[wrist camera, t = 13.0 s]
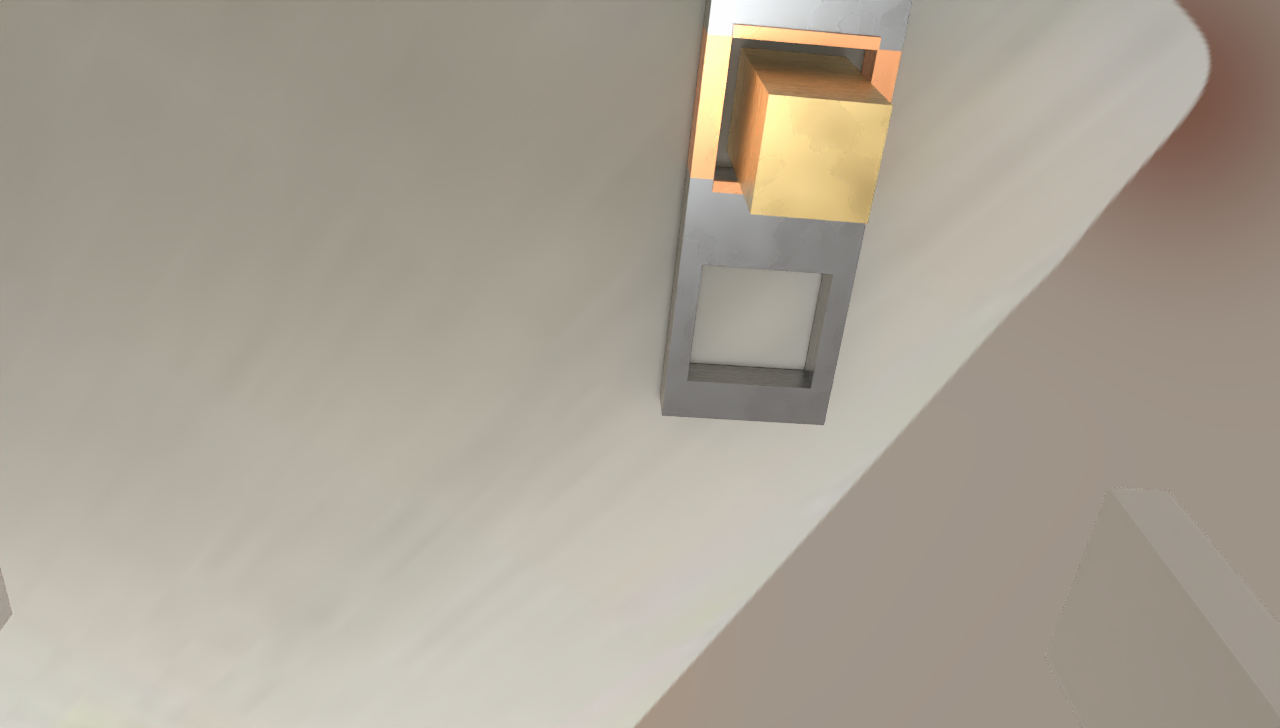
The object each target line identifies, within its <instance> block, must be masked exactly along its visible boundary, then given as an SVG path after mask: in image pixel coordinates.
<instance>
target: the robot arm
mask: <svg viewBox="0 0 1280 728" xmlns="http://www.w3.org/2000/svg"><path fill="white" fill-rule="evenodd" d="M11 615H12V611H11V607H10V603H9V599H8V595H7V592H6V588H5V584H4V580H3V576H2V572H1V568H0V630H1V629H2V627H3V626H4V625H5V623H6V622H7V620H8V619H9V618H10V616H11ZM1045 659H1046V661H1047V663H1048V665H1049V667H1050V669H1051V671H1052V673H1053V675H1054V677H1055V679H1056V680H1057V682H1058V684H1059V686H1060V688H1061V690H1062V692H1063V694H1064V696H1065V698H1066V700H1067V701H1068V703H1069V705H1070V707H1071V709H1072V711H1073V713H1074V715H1075V717H1076V719H1077V721H1078V723H1079V724H1080V726H1081V728H1280V623H1279V622H1278V621H1277V620H1276V618H1275V617H1274V616H1273V615H1272V613H1271V612H1270V611H1269V610H1268V609H1267V607H1266V606H1265V605H1264V604H1263V603H1262V601H1261V600H1260V599H1259V598H1258V596H1257V595H1256V594H1255V593H1254V592H1253V590H1252V589H1251V588H1250V587H1249V586H1248V584H1247V583H1246V582H1245V581H1244V580H1243V578H1242V577H1241V576H1240V575H1239V574H1238V572H1237V571H1236V570H1235V569H1234V568H1233V566H1232V565H1231V564H1230V563H1229V562H1228V560H1227V559H1226V558H1225V557H1224V556H1223V554H1222V553H1221V552H1220V551H1219V550H1218V548H1217V547H1216V546H1215V545H1214V543H1213V542H1212V541H1211V540H1210V539H1209V537H1208V536H1207V535H1206V534H1205V533H1204V531H1203V530H1202V529H1201V528H1200V527H1199V525H1198V524H1197V523H1196V522H1195V521H1194V520H1193V518H1192V517H1191V516H1190V515H1189V514H1188V512H1187V511H1186V510H1185V509H1184V507H1183V506H1182V505H1181V504H1180V503H1179V501H1178V500H1177V499H1176V498H1175V497H1174V496H1173V494H1172V493H1171V492H1170V490H1151V489H1133V488H1116V487H1108V489H1107V492H1106V495H1105V497H1104V500H1103V503H1102V506H1101V508H1100V511H1099V513H1098V516H1097V519H1096V521H1095V524H1094V527H1093V529H1092V532H1091V535H1090V537H1089V540H1088V543H1087V545H1086V548H1085V551H1084V553H1083V556H1082V559H1081V562H1080V564H1079V567H1078V569H1077V572H1076V575H1075V577H1074V580H1073V583H1072V585H1071V588H1070V591H1069V593H1068V596H1067V599H1066V601H1065V604H1064V607H1063V609H1062V612H1061V615H1060V617H1059V620H1058V623H1057V626H1056V628H1055V631H1054V633H1053V636H1052V639H1051V641H1050V644H1049V647H1048V649H1047V652H1046V655H1045Z"/></svg>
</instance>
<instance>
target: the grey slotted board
mask: <svg viewBox="0 0 1280 728" xmlns="http://www.w3.org/2000/svg"><path fill="white" fill-rule="evenodd" d="M911 4H912V0H706V9H705V17H704V26H703V34H702V43H701V51H700V60H699V68H698V77H697V85H696V94H695V102H694V111H693V119H692V128H691V136H690V145H689V154H688V162H687V171H686V179H685V188H684V196H683V205H682V213H681V222H680V230H679V239H678V247H677V256H676V264H675V273H674V281H673V290H672V298H671V307H670V316H669V324H668V333H667V341H666V350H665V358H664V367H663V375H662V384H661V392H660V401H661V411H662V416H679V417H696V418H713V419H730V420H747V421H764V422H781V423H797V424H814V425H824V422H825V417H826V413H827V408H828V403H829V398H830V393H831V389H832V384H833V379H834V374H835V369H836V365H837V360H838V355H839V350H840V345H841V341H842V336H843V331H844V326H845V321H846V316H847V312H848V307H849V302H850V297H851V292H852V288H853V283H854V278H855V273H856V268H857V264H858V259H859V254H860V249H861V244H862V240H863V235H864V230H865V225H866V223H854V222H842V221H829V220H817V219H804V218H792V217H779V216H766V215H754V214H750V212H749V209H748V207H747V204H746V201H745V198H744V196H743V193H742V190H741V188H740V185H739V182H738V180H737V177H736V174H735V172H734V169H733V168H723V167H715V164H716V156H717V149H718V141H719V133H720V126H721V118H722V110H723V103H724V95H725V87H726V80H727V72H728V64H729V57H730V49H731V41H732V37H733V38H744V39H756V40H767V41H779V42H790V43H801V44H813V45H824V46H835V47H847V48H858V49H866V51H865V56H864V61H863V66H862V72H861V73H862V74H863V75H864V76H865V77H866V78H867V79H868V80H869V82H870V83H871V84H872V85H873V86H874V87H875V88H876V89H877V90H878V91H879V92H880V93H881V94H882V95H883V96H884V97H885V98H886V99H887V100H888V101H889V102H890V103H891V100H892V95H893V90H894V86H895V81H896V76H897V71H898V66H899V62H900V57H901V52H902V47H903V42H904V38H905V33H906V28H907V23H908V18H909V14H910V9H911ZM702 265H709V266H723V267H738V268H752V269H766V270H780V271H794V272H808V273H823V275H822V280H821V286H820V291H819V296H818V301H817V306H816V312H815V317H814V322H813V327H812V332H811V338H810V343H809V348H808V353H807V359H806V364H805V369H804V370H789V369H773V368H757V367H741V366H726V365H710V364H694V363H690V355H691V348H692V340H693V332H694V325H695V317H696V309H697V302H698V294H699V286H700V279H701V271H702Z"/></svg>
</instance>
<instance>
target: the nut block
mask: <svg viewBox="0 0 1280 728" xmlns="http://www.w3.org/2000/svg"><path fill="white" fill-rule="evenodd" d="M892 107H893V105H892V104H891V103H890V102H889V101H888V100H887V99H886V98H885V97H884V96H883V95H882V94H881V93H880V92H879V91H878V90H877V89H876V88H875V87H874V86H873V85H872V84H871V83H870V82H869V80H868V79H867V78H866V77H865V76H864V75H863V74H862V73H861V72H860V71H859V70H858V69H857V68H856V67H855V66H854V65H853V64H852V63H851V62H850V61H849V60H848V59H847V58H846V57H841V56H831V55H820V54H809V53H798V52H787V51H777V50H766V49H755V48H744V47H741V53H740V60H739V67H738V74H737V81H736V89H735V96H734V103H733V110H732V117H731V124H730V131H729V138H728V146H727V153H728V155H729V158H730V161H731V164H732V166H733V169H734V172H735V174H736V177H737V180H738V182H739V185H740V188H741V190H742V193H743V196H744V198H745V201H746V204H747V207H748V209H749V212H750V214H754V215H766V216H779V217H792V218H804V219H817V220H829V221H842V222H854V223H867V224H868V219H869V214H870V210H871V205H872V200H873V196H874V191H875V186H876V182H877V177H878V172H879V168H880V163H881V158H882V154H883V149H884V144H885V140H886V135H887V130H888V125H889V121H890V116H891V111H892Z"/></svg>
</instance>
